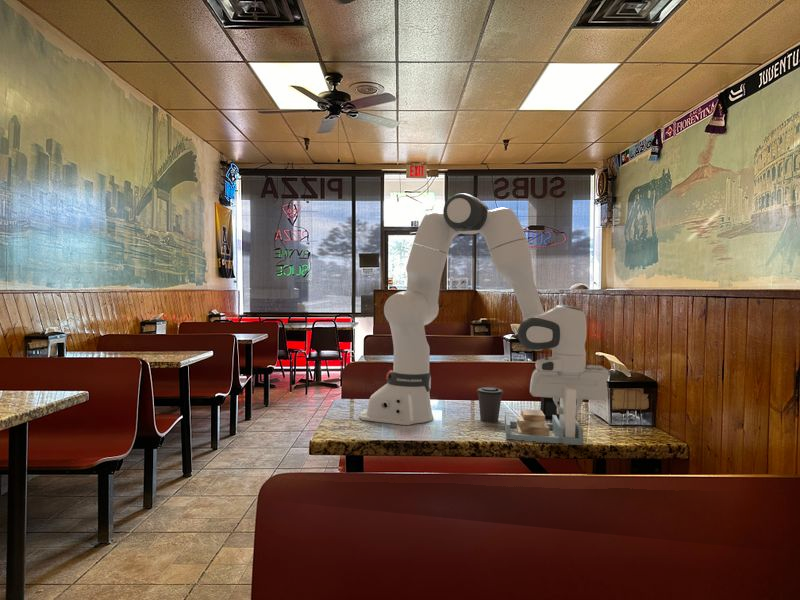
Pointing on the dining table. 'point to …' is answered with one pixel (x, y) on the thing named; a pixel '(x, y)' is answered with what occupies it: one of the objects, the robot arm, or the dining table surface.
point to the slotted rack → (557, 438)
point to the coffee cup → (489, 403)
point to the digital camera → (550, 407)
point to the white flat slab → (568, 412)
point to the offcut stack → (532, 423)
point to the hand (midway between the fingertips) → (567, 414)
